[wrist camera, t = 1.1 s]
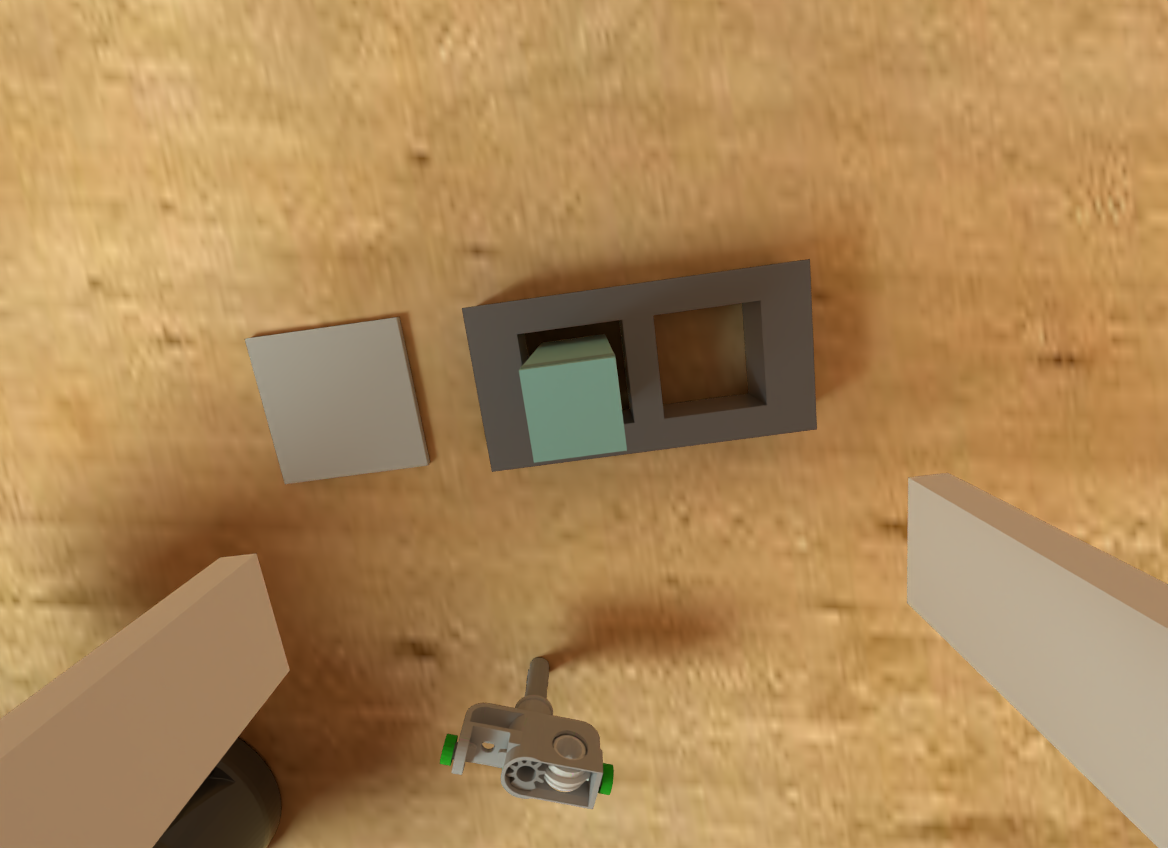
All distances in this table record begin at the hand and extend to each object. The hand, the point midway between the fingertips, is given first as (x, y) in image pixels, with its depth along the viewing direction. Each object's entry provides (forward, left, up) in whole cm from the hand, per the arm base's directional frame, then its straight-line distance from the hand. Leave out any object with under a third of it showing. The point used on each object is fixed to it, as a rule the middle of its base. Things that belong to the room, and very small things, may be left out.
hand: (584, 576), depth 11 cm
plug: (0, 0, -27) cm, 27 cm away
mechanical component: (-6, -22, -27) cm, 35 cm away
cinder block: (+4, 0, -27) cm, 27 cm away
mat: (-16, 0, -27) cm, 31 cm away
